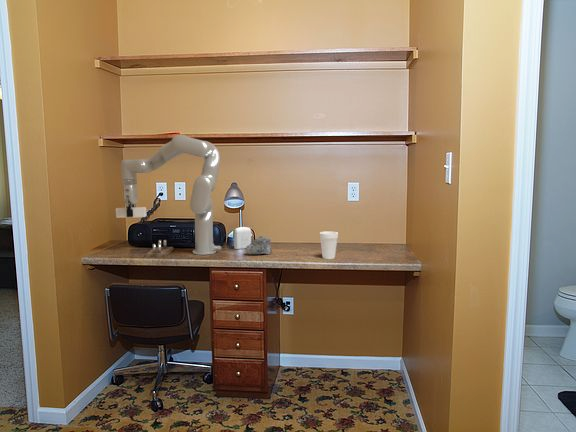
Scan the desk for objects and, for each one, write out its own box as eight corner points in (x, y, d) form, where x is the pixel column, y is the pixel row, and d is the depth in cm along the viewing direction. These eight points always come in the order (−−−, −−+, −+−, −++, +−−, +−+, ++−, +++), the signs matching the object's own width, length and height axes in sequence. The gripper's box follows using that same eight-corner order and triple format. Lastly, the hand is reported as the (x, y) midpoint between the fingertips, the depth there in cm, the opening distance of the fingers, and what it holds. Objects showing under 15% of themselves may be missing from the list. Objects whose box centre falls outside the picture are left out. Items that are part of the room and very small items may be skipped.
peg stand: (173, 249, 253) (173, 239, 252) (164, 256, 233) (164, 245, 232) (155, 249, 253) (155, 239, 252) (145, 257, 233) (145, 245, 232)
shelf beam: (146, 216, 246) (146, 207, 246) (144, 217, 242) (144, 207, 242) (118, 216, 246) (118, 207, 245) (116, 217, 241) (115, 208, 241)
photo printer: (248, 246, 261) (248, 225, 259) (252, 248, 257) (252, 226, 256) (232, 248, 255) (232, 227, 254) (236, 250, 252) (236, 228, 250)
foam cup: (335, 255, 236) (335, 231, 235) (340, 259, 227) (340, 233, 226) (317, 256, 235) (317, 231, 233) (321, 259, 226) (321, 234, 224)
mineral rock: (245, 256, 236) (245, 237, 235) (249, 251, 246) (249, 233, 245) (269, 256, 234) (269, 237, 233) (272, 252, 245) (272, 234, 244)
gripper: (131, 183, 233) (133, 218, 236) (141, 181, 250) (142, 214, 252) (117, 183, 233) (119, 218, 235) (127, 182, 250) (129, 214, 252)
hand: (131, 215), depth 244 cm, fingers closed on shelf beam, 4 cm apart
